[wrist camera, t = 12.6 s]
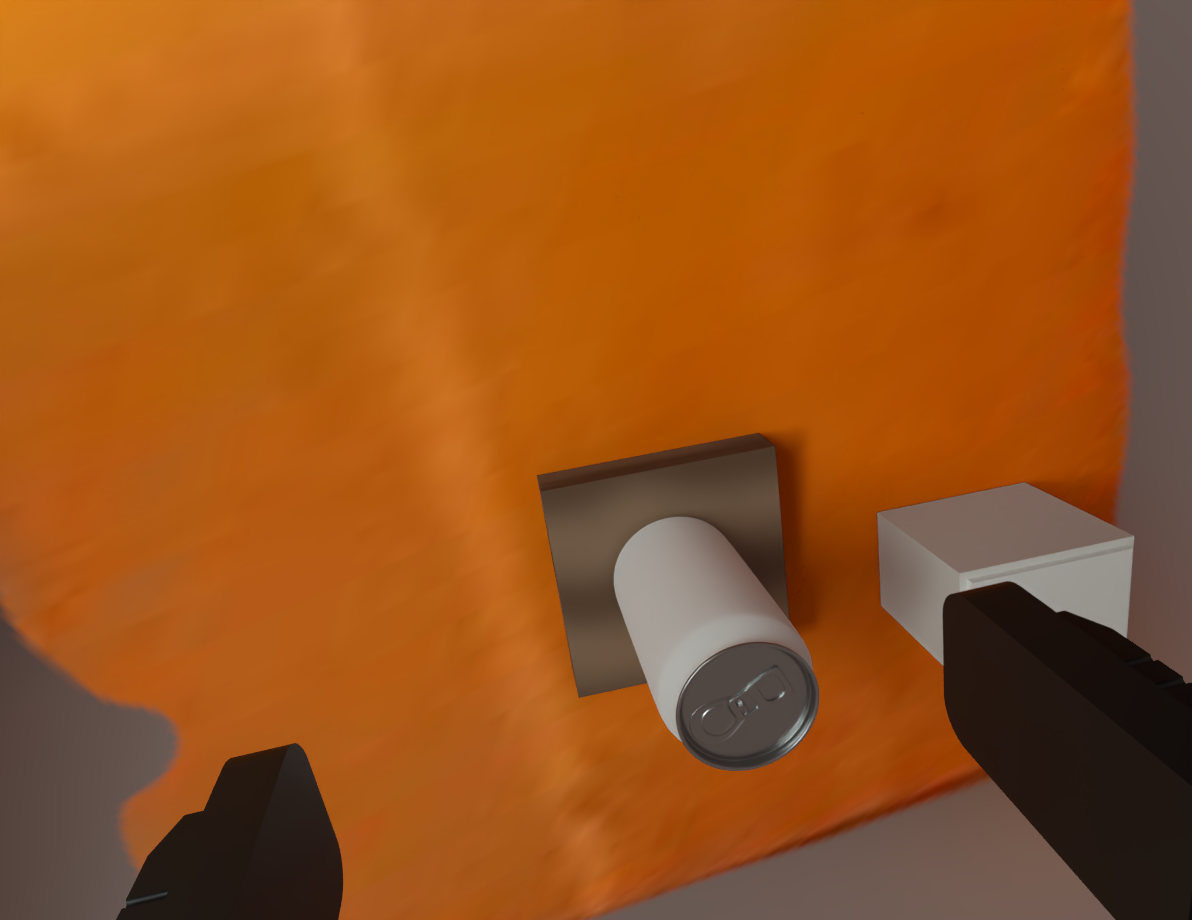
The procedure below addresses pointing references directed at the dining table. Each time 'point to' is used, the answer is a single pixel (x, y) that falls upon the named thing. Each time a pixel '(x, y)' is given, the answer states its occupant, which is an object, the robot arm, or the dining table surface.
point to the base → (634, 500)
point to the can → (714, 646)
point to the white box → (1001, 557)
